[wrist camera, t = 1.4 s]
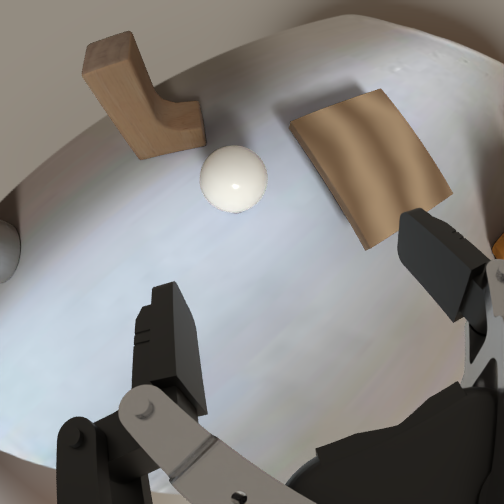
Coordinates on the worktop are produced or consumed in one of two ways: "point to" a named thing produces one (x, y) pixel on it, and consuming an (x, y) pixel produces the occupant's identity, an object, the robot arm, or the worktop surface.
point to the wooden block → (139, 100)
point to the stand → (371, 163)
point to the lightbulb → (233, 179)
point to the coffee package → (499, 248)
